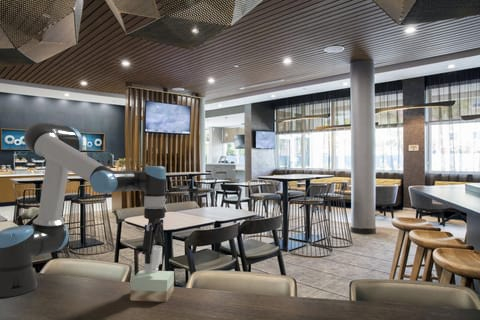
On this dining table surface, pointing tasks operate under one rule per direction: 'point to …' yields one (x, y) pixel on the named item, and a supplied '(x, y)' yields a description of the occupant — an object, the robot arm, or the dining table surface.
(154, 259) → the cup
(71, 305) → the dining table surface
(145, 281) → the top block
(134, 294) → the bottom block
